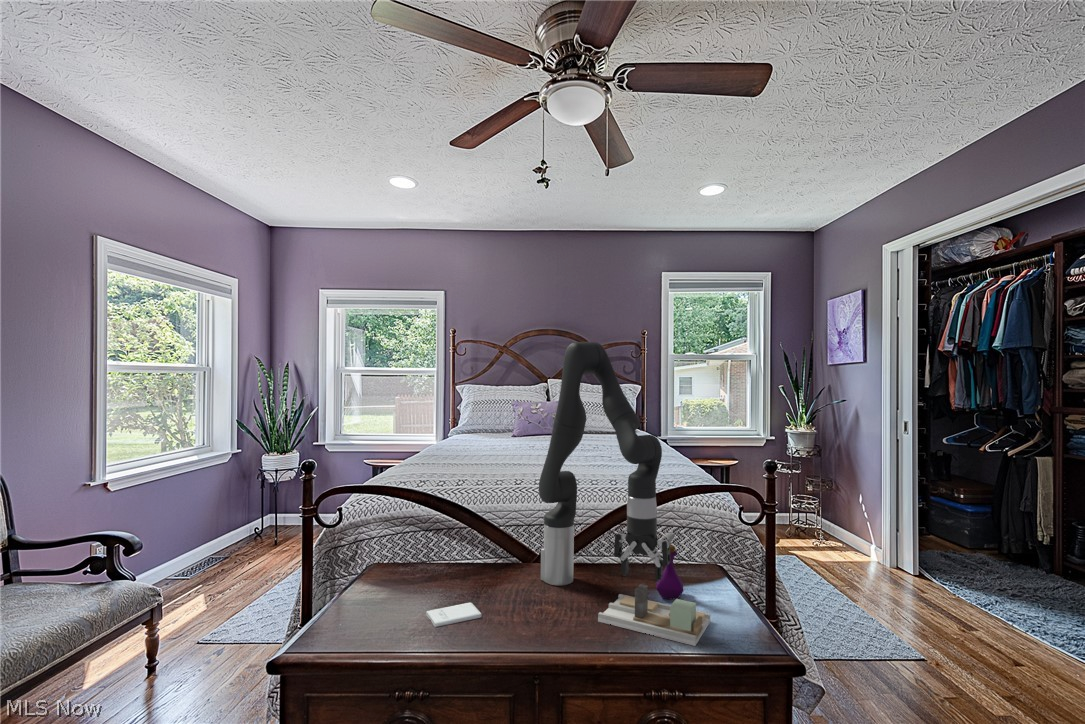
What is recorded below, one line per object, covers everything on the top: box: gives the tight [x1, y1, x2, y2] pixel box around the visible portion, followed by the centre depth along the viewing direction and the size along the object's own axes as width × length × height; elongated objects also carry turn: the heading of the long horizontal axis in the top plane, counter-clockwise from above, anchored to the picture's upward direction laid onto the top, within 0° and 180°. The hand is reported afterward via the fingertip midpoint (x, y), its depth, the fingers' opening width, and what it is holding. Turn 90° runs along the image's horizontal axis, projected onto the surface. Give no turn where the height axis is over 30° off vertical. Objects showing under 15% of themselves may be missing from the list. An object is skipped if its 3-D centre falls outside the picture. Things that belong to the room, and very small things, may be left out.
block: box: [670, 598, 697, 631], centre depth 139 cm, size 5×5×5 cm
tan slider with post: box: [633, 583, 702, 638], centre depth 141 cm, size 16×5×8 cm, turn 60°
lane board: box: [597, 593, 711, 647], centre depth 146 cm, size 25×15×2 cm, turn 60°
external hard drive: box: [425, 602, 482, 628], centre depth 148 cm, size 2×8×12 cm
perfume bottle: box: [655, 532, 684, 601], centre depth 163 cm, size 8×8×18 cm
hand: (641, 577), depth 144 cm, fingers open, 8 cm apart
